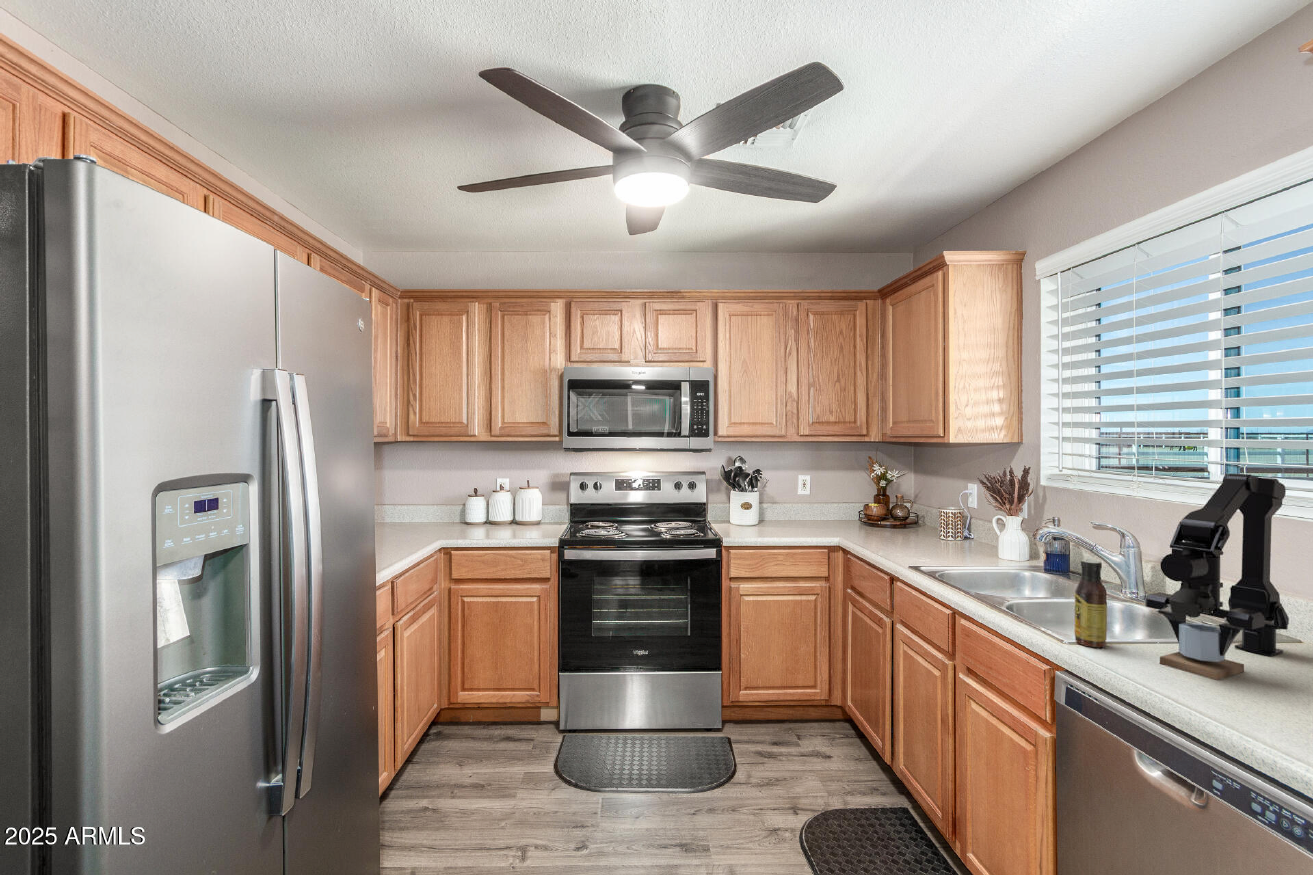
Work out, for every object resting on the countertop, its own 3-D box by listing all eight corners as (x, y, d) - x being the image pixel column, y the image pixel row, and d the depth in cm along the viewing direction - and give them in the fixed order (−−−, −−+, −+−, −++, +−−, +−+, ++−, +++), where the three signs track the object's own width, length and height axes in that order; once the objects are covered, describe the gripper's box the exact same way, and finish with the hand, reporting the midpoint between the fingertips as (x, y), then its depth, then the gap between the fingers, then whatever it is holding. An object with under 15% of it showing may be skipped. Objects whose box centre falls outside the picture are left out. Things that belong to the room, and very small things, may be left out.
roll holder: (1187, 656, 141) (1187, 622, 141) (1243, 671, 132) (1244, 635, 132) (1159, 663, 137) (1160, 628, 136) (1216, 679, 128) (1217, 642, 127)
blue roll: (1190, 648, 139) (1190, 621, 139) (1229, 658, 133) (1230, 629, 133) (1173, 652, 136) (1173, 625, 136) (1212, 663, 130) (1213, 634, 130)
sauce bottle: (1076, 638, 153) (1076, 556, 153) (1107, 643, 149) (1108, 559, 149) (1072, 645, 148) (1073, 560, 148) (1105, 650, 144) (1106, 564, 144)
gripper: (1131, 571, 139) (1130, 642, 139) (1238, 590, 122) (1237, 671, 122) (1159, 567, 144) (1159, 635, 144) (1266, 584, 127) (1265, 662, 127)
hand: (1201, 649), depth 134 cm, fingers closed on blue roll, 7 cm apart
